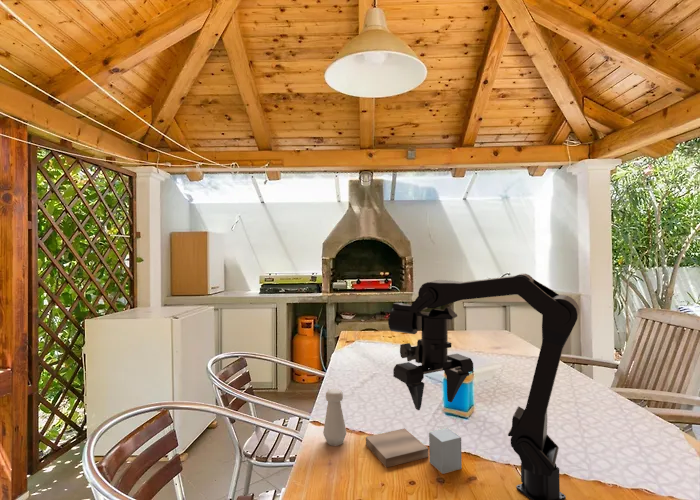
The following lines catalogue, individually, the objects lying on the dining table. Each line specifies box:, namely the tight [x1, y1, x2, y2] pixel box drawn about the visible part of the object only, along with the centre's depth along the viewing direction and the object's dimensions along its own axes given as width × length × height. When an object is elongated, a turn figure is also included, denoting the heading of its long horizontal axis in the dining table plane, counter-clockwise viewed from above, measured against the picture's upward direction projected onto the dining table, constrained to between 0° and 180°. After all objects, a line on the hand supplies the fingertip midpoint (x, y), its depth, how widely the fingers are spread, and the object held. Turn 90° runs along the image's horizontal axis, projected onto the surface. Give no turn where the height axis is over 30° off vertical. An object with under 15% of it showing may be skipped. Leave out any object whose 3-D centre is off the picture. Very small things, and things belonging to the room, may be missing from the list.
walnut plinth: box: [365, 428, 429, 468], centre depth 96 cm, size 11×11×2 cm
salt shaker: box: [322, 388, 347, 447], centre depth 101 cm, size 6×6×13 cm
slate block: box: [428, 427, 462, 475], centre depth 90 cm, size 5×5×7 cm
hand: (434, 405), depth 90 cm, fingers open, 9 cm apart
